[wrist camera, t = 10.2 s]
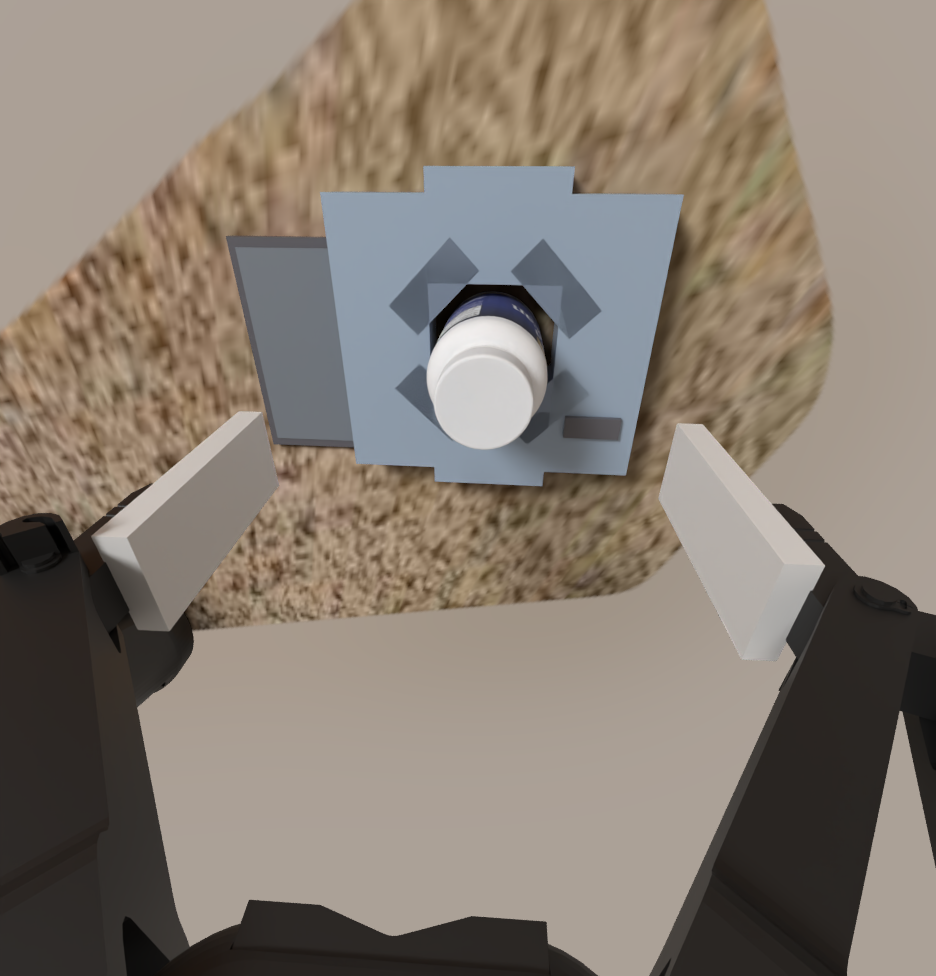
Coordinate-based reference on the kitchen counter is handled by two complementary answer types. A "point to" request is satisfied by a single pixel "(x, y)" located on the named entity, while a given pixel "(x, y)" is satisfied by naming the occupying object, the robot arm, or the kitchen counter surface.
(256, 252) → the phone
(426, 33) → the kitchen counter surface
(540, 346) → the pill bottle
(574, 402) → the dock
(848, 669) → the robot arm
